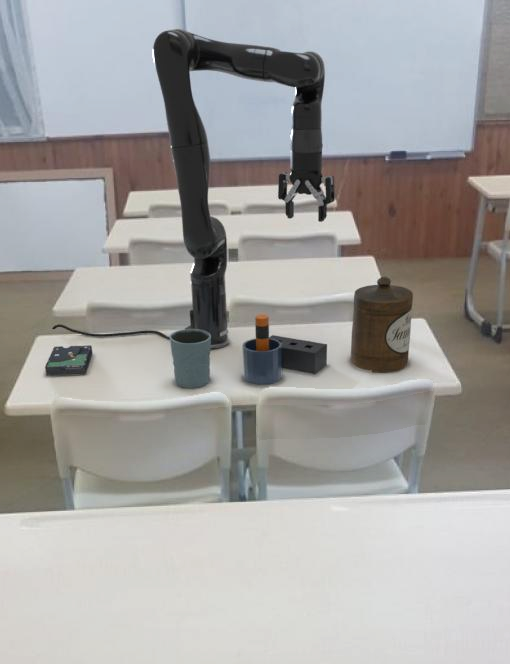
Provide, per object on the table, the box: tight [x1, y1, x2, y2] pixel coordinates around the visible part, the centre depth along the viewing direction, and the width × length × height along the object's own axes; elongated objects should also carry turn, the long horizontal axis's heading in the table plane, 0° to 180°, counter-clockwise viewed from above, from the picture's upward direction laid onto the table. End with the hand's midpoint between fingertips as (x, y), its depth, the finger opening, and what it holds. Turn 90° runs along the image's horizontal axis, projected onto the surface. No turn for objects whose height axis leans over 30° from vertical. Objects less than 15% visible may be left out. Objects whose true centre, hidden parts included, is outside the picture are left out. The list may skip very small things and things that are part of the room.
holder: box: [269, 334, 328, 375], centre depth 218 cm, size 16×7×6 cm, turn 61°
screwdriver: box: [254, 314, 270, 351], centre depth 208 cm, size 3×3×16 cm
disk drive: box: [44, 344, 93, 377], centre depth 223 cm, size 10×3×15 cm
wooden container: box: [350, 276, 414, 373], centre depth 214 cm, size 15×15×22 cm
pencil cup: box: [241, 338, 283, 386], centre depth 210 cm, size 10×10×9 cm
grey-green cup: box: [169, 328, 211, 389], centre depth 209 cm, size 10×10×12 cm
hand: (305, 219), depth 210 cm, fingers open, 8 cm apart
